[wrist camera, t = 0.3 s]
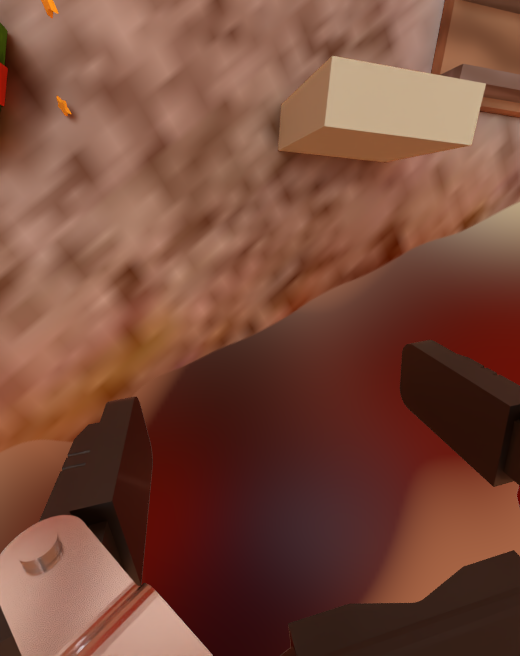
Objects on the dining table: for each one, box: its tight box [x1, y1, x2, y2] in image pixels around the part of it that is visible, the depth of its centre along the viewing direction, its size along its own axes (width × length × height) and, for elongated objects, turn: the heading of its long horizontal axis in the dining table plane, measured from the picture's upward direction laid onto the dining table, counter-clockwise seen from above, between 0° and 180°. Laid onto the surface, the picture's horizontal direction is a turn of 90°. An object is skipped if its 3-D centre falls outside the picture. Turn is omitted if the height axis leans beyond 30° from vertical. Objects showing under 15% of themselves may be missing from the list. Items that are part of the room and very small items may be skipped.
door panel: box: [278, 56, 486, 162], centre depth 30 cm, size 4×12×12 cm, turn 86°
